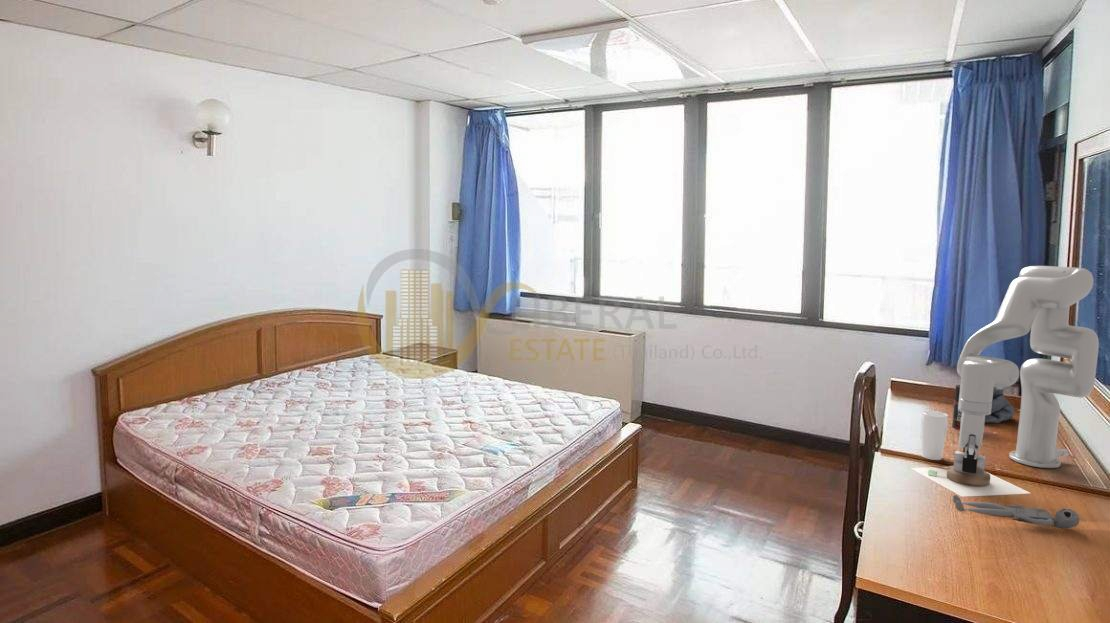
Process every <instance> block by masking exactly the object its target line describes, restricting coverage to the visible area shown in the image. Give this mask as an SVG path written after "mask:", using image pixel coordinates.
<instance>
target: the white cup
mask: <svg viewBox="0 0 1110 623" xmlns="http://www.w3.org/2000/svg"><path fill="white" fill-rule="evenodd" d="M948 423H949V415H948V414H947V413H945V412H941V411H936V410H924V411H923V412H922V415H921V424H920V425H921V426H920V427H921V434H920V435H921V454H920V455H921V457H922V458H924V459H927V460H932V461H940V460H942V459H943V453H944V447H945V442H946V438H947V432H948V425H949V424H948Z"/></svg>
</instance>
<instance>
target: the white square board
mask: <svg viewBox="0 0 1110 623" xmlns="http://www.w3.org/2000/svg"><path fill="white" fill-rule="evenodd" d="M949 466H950V465H949ZM949 466H945V467H946V468H948V467H949ZM909 469H911V470H912V471H914V472H916V473H917V474H920V475H921V476H923V477H925V478H927V479H929V480H931V481H932V482H934V483H936V484H938V485H939V486H942V488H943V487H944V488H945V489H947V490H948V491H950V492H952V493H954V494H955V495H957V496H960V497H961V498H963V497H966V498H967V497H984V496H985V497H986V496H1006V495H1009V496H1010V495H1027V494H1030V495H1031V494H1032V493H1031V492H1029V491H1027V490H1025V489H1023V488H1021V487H1019V486H1017V485H1015V484H1013V483H1010V482H1008V481H1006V480H1005V479H1002V478H1000V477H999V476H996V475H995V474H994V475H993V474H991V473H989V472H988V471H986V472H987V473H989V474H990V484H989V485H987V486H971V485H966V484H961V483H958V482H955V481H953V480H951V479H949V478H948V477H947V470H946V469H940V468H935V467H930V466H929V467H926V466H925V467H909Z"/></svg>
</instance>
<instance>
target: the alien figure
mask: <svg viewBox="0 0 1110 623" xmlns="http://www.w3.org/2000/svg"><path fill="white" fill-rule="evenodd" d="M952 499H953V500H952V502H953V503H955V509H957V510H960V511H963V510H965V511H969V512H972V513H980V514H983V515H991V516H998V517H999V516H1000V517H1013V518H1012V520H1014V521H1017V522H1021V523H1025V524H1026V523H1028V524H1034V525H1040V526H1044V527H1045V526H1047V527H1048V526H1052V527H1053V528H1058V529H1063V530H1064V529H1071V528H1075V527H1077V526H1078V525H1079V523H1080V517H1079V514H1078V513H1077V511H1075V510H1074V509H1072V508H1061V509H1058V510H1057V511H1056V513H1055V515H1054V516H1053V515H1052V514H1051V513H1050V512H1048V511H1047V510H1046V509H1043V508H1042V509H1041V508H1034V507H1033V508H1032V507H1025V506H1022V505H1017V504H1014V505H1008V506H1006V505H1002V504H997V503H994V502H988V501H987V502H986V501H985V502H983V501H971V502H968V501H965V502H962V500H961V498H960V497H959V495H958V494H954V495H953V498H952ZM964 505H966V506H970V507H971V508H969V507H968V508H964Z"/></svg>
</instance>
